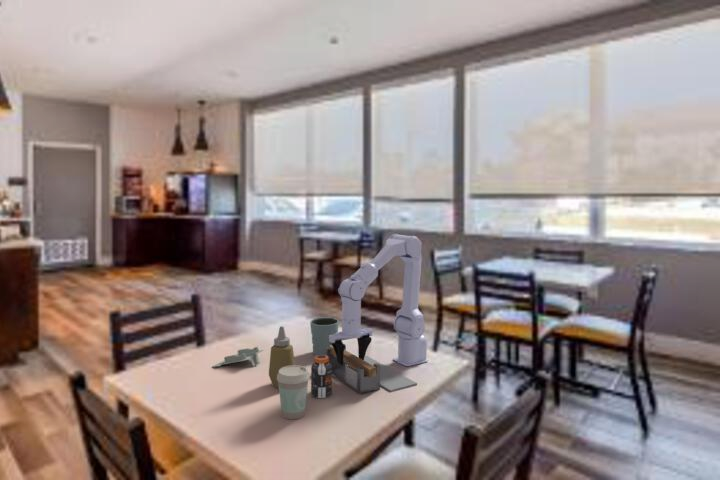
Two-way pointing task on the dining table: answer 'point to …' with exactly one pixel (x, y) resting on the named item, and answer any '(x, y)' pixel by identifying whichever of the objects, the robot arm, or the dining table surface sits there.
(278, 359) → the squeeze bottle
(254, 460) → the dining table surface
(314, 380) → the pill bottle
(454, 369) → the dining table surface
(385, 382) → the grey mat
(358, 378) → the dark grey cradle
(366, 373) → the walnut bar
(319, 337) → the teal tumbler
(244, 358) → the metal bracket
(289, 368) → the coffee cup
